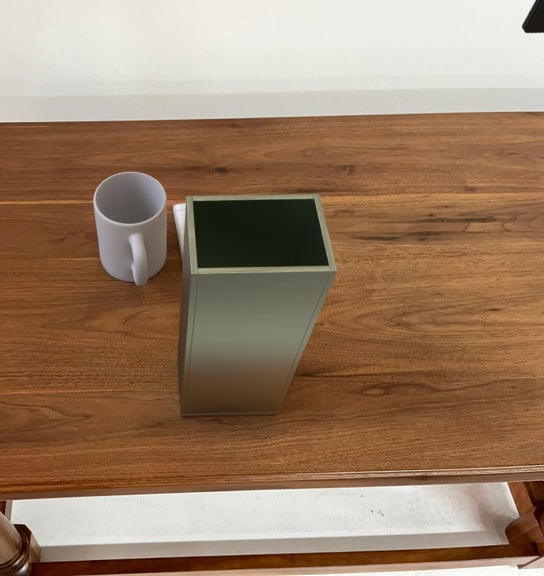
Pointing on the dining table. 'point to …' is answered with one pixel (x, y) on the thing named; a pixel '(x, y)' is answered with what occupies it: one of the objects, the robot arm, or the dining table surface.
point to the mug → (131, 226)
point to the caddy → (248, 299)
